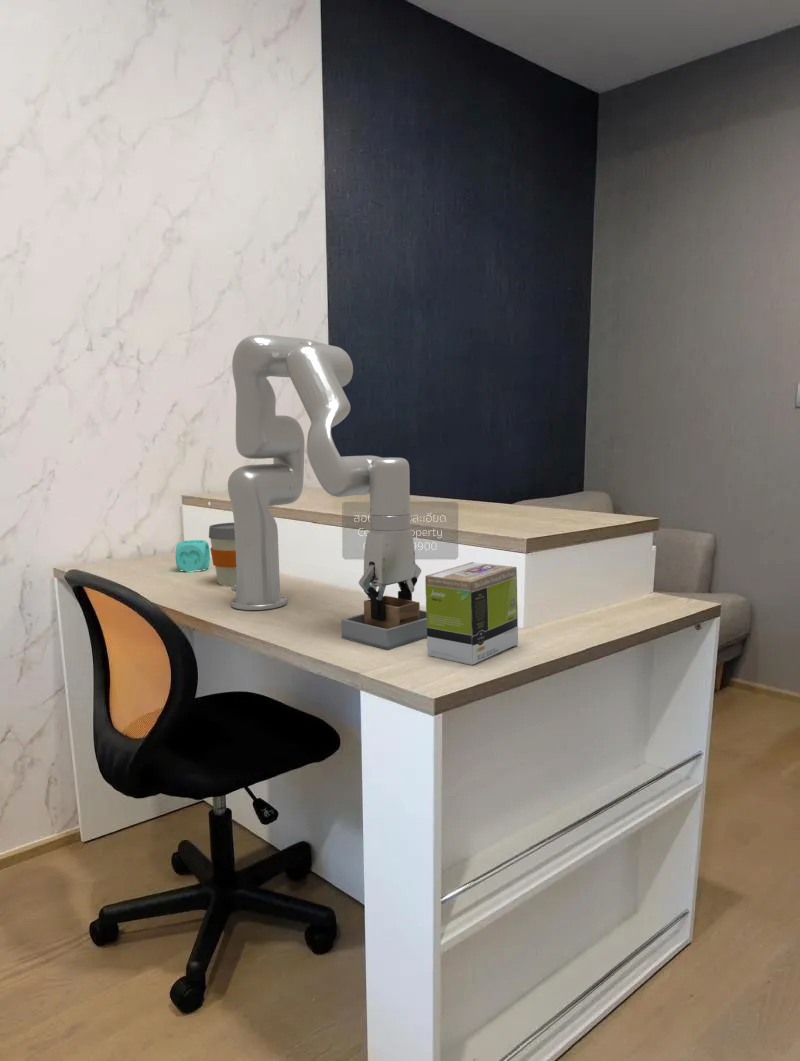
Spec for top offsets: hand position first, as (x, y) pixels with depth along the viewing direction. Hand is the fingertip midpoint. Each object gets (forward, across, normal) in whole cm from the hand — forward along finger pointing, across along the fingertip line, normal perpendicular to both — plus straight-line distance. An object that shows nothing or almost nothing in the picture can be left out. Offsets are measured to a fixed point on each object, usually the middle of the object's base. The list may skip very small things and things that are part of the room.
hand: (391, 615), depth 147 cm
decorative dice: (+4, -13, -91) cm, 92 cm away
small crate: (+3, 0, 0) cm, 3 cm away
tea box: (+4, -2, +18) cm, 19 cm away
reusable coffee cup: (+4, -10, -66) cm, 67 cm away
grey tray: (+4, 0, 0) cm, 4 cm away
